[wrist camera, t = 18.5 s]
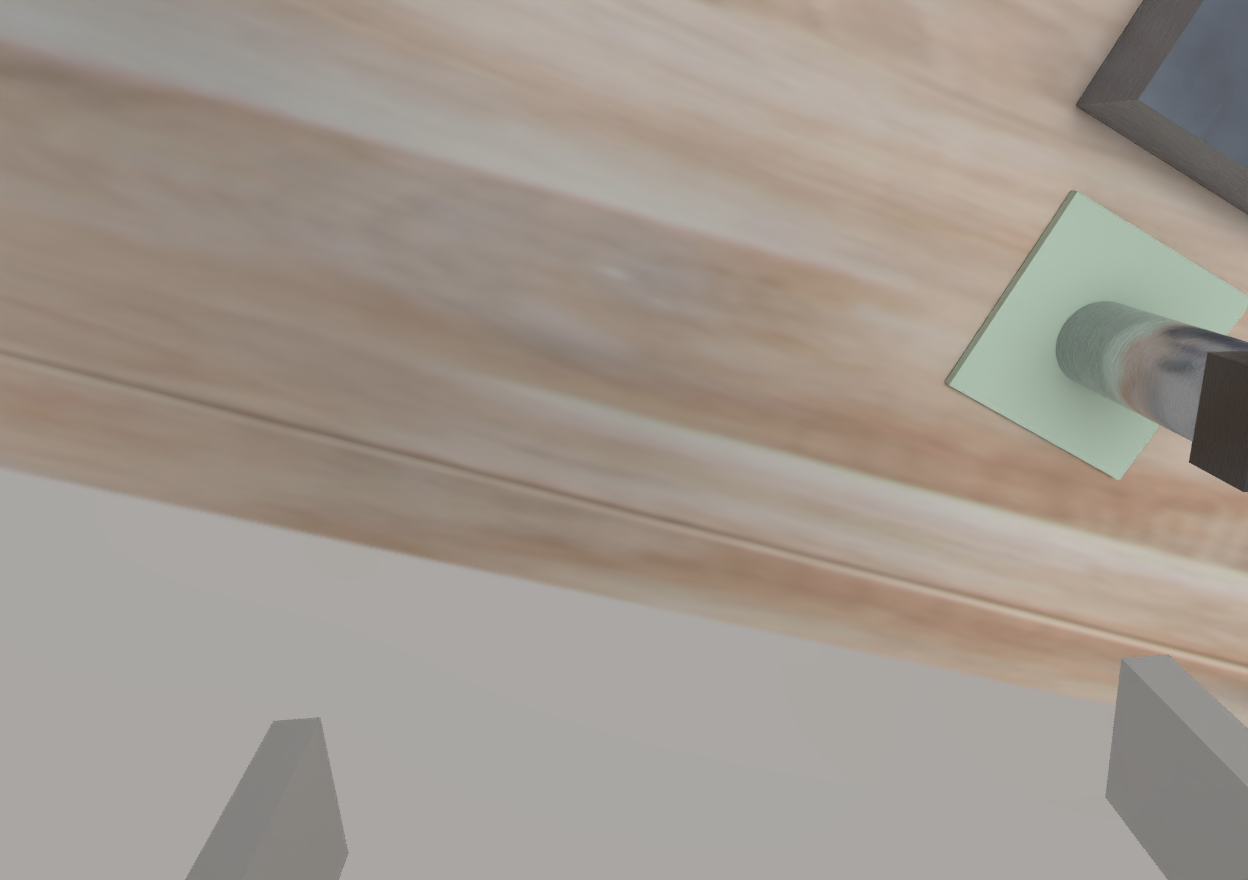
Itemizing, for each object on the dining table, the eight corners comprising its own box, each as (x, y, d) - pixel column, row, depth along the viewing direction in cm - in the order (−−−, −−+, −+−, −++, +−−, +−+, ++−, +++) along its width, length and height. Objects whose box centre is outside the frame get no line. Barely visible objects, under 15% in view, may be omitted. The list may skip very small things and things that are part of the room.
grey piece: (1060, 302, 42) (1274, 374, 29) (1148, 299, 42) (1404, 371, 29) (1050, 387, 43) (1251, 496, 30) (1136, 385, 43) (1376, 493, 30)
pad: (944, 382, 44) (949, 385, 43) (1071, 190, 41) (1077, 191, 41) (1112, 476, 45) (1119, 480, 45) (1244, 297, 43) (1253, 299, 42)
